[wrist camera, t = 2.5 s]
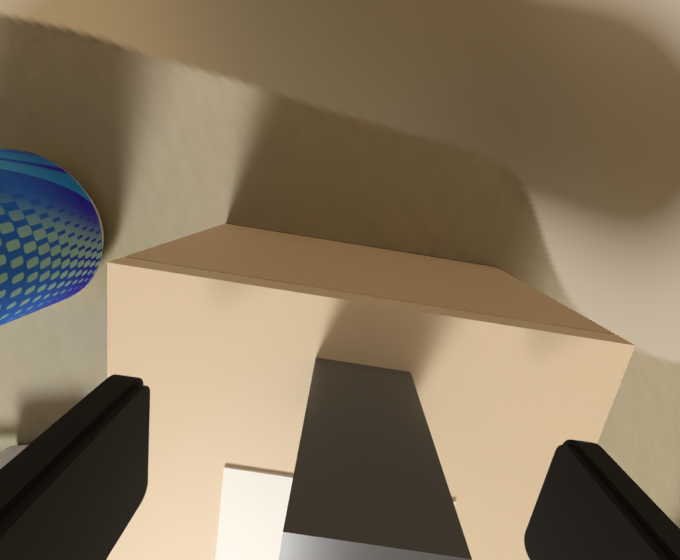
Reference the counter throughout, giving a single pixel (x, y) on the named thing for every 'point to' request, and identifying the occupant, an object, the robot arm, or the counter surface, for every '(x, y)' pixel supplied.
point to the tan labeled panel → (343, 418)
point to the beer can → (43, 234)
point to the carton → (365, 273)
